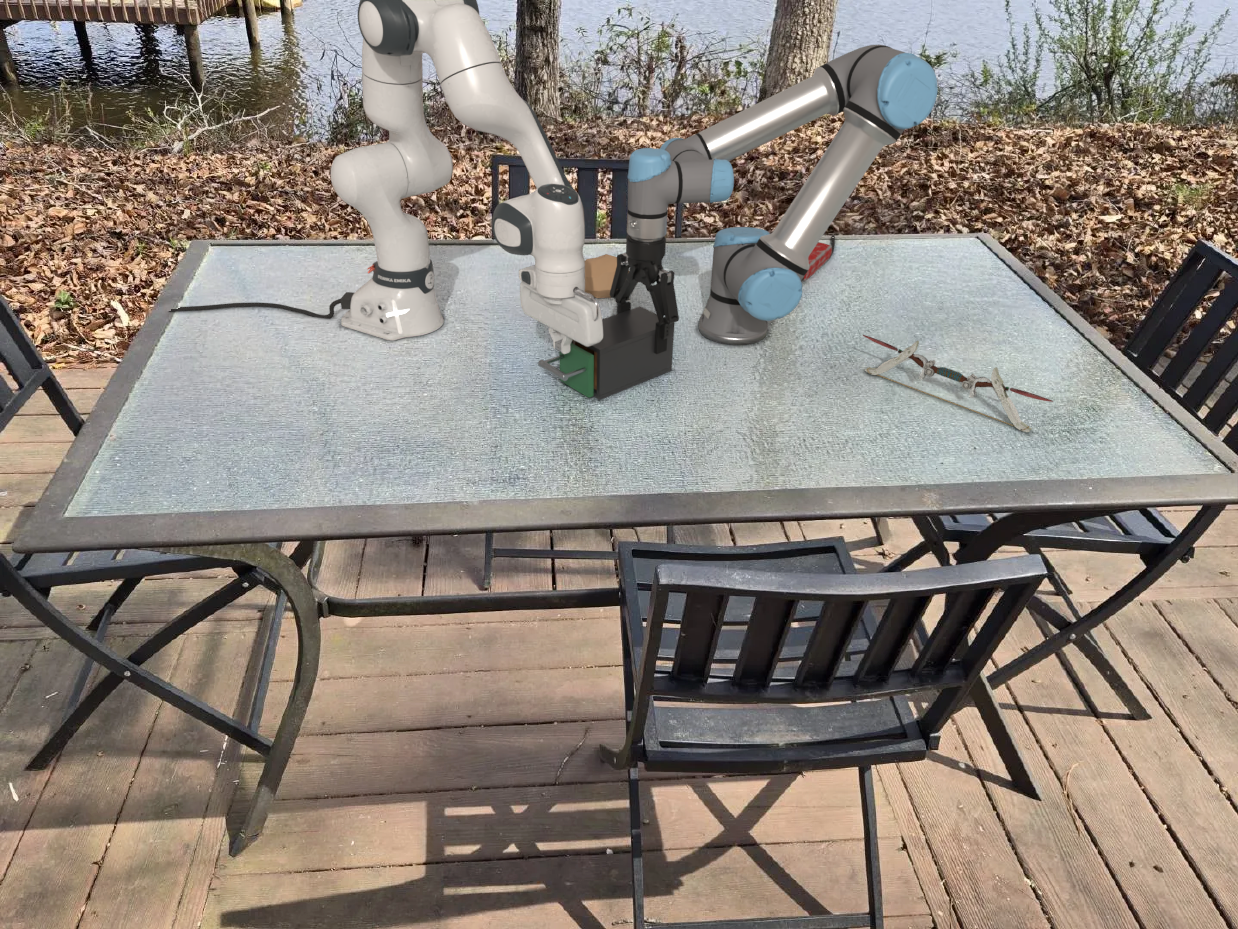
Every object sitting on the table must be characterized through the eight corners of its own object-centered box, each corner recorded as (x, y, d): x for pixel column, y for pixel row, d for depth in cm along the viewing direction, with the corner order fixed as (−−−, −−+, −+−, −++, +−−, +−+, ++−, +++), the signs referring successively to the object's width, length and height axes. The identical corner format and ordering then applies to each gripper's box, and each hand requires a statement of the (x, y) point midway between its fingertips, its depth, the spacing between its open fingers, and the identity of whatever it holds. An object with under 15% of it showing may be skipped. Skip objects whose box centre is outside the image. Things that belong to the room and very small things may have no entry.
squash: (632, 302, 209) (628, 269, 203) (549, 309, 210) (543, 277, 204) (632, 277, 217) (628, 245, 210) (552, 285, 218) (546, 253, 212)
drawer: (565, 407, 165) (565, 365, 160) (536, 389, 170) (535, 348, 165) (657, 370, 178) (659, 330, 173) (628, 354, 183) (629, 315, 179)
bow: (1043, 434, 162) (1060, 387, 156) (1039, 438, 161) (1056, 390, 155) (858, 366, 183) (867, 322, 178) (854, 369, 182) (862, 324, 177)
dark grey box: (599, 400, 169) (600, 349, 163) (566, 380, 175) (565, 331, 169) (671, 370, 180) (674, 322, 174) (638, 353, 186) (639, 306, 180)
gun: (720, 263, 218) (793, 282, 210) (769, 227, 240) (836, 243, 232) (718, 280, 221) (790, 299, 213) (767, 243, 243) (833, 259, 235)
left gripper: (612, 293, 151) (611, 365, 159) (540, 260, 164) (542, 328, 171) (583, 302, 148) (584, 375, 155) (512, 268, 160) (516, 337, 168)
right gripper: (592, 223, 170) (591, 328, 183) (674, 257, 156) (667, 367, 169) (621, 216, 175) (618, 318, 187) (703, 248, 160) (694, 356, 173)
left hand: (561, 350), depth 163 cm, fingers closed
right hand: (641, 342), depth 178 cm, fingers closed on dark grey box, 10 cm apart
